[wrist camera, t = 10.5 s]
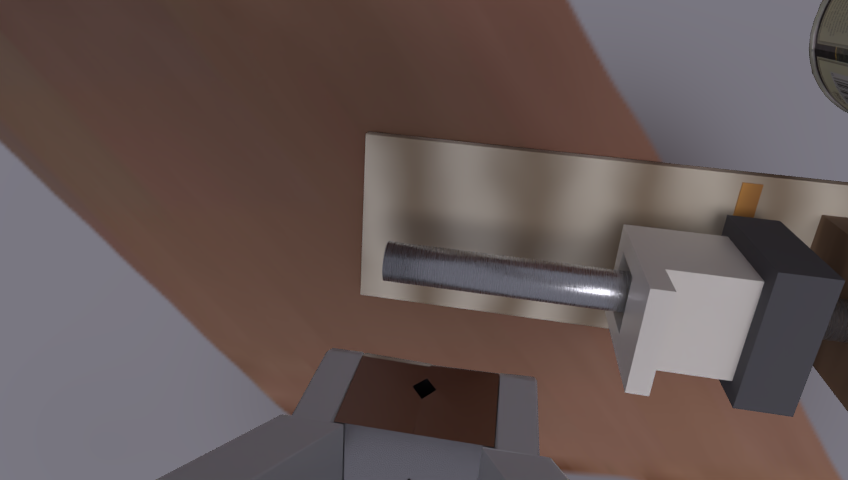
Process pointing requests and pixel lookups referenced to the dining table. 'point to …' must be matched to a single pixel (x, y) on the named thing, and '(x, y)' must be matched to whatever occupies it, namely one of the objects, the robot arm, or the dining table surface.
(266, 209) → the dining table surface
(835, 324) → the pipe
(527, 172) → the rod holder plate
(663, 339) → the sleeve
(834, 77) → the coffee can
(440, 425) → the robot arm
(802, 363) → the charcoal grey box
